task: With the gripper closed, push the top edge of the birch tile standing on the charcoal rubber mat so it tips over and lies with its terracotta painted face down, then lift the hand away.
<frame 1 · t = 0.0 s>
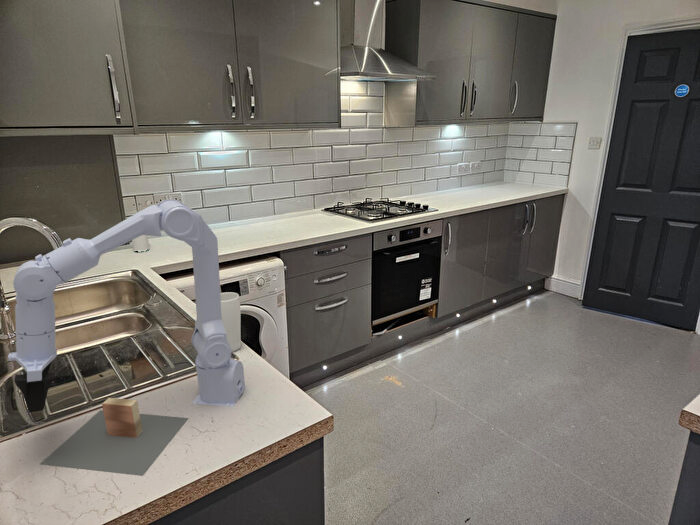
hand: (37, 399, 83), 11 cm above the countertop, tool pointing down, fingers open, 7 cm apart
can: (141, 251, 221), on the countertop
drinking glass: (231, 348, 123), on the countertop
mat: (119, 442, 87), on the countertop
tile: (125, 432, 89), point 1 cm above the countertop, touching mat
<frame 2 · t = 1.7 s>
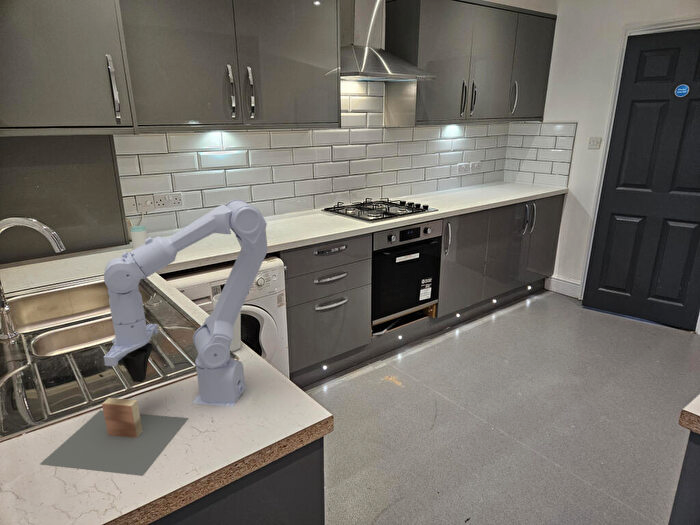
hand: (139, 380, 93), 8 cm above the countertop, tool pointing down, fingers closed
nothing on the countertop moved.
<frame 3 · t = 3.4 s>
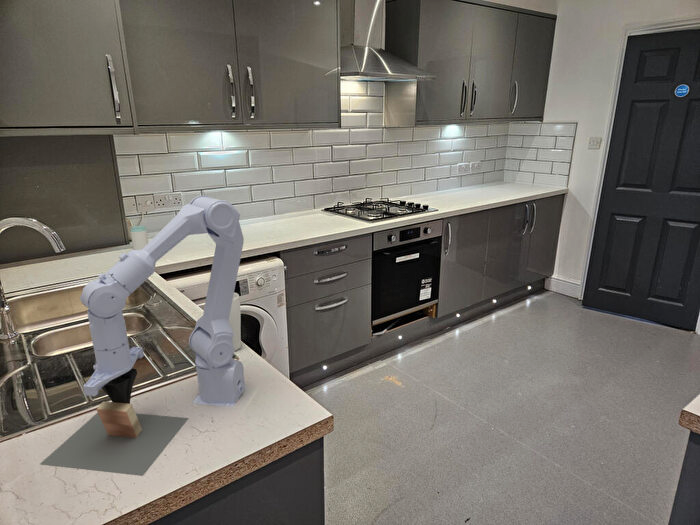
hand: (122, 407, 88), 6 cm above the countertop, tool pointing down, fingers closed
tile: (125, 431, 89), point 1 cm above the countertop, tilted 13°, touching gripper, mat
everything else where it was.
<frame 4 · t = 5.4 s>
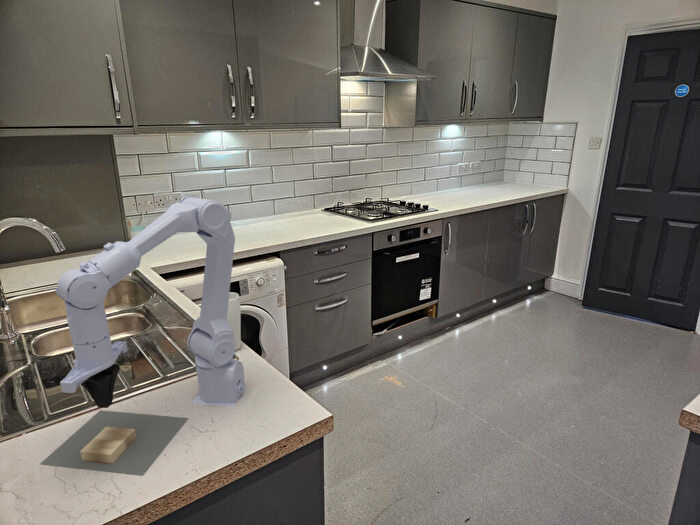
hand: (104, 405, 83), 9 cm above the countertop, tool pointing down, fingers closed
tile: (121, 431, 87), point 2 cm above the countertop, tilted 90°, touching mat
everything else where it was.
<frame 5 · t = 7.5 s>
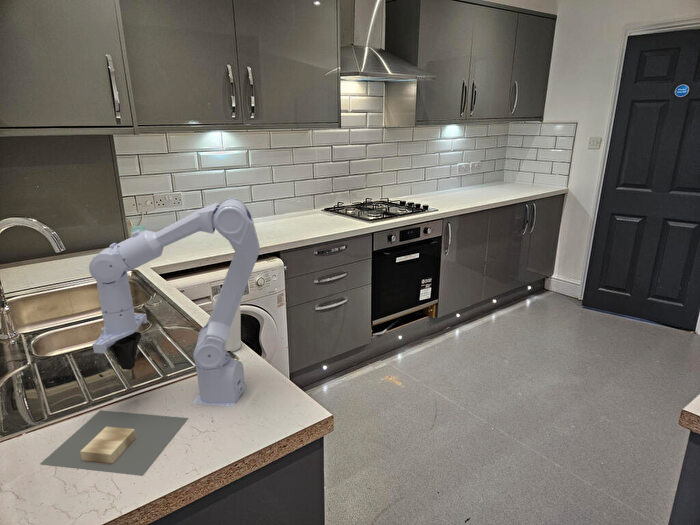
hand: (128, 367, 95), 9 cm above the countertop, tool pointing down, fingers closed
nothing on the countertop moved.
at the end: tile tilted 90°; tile inside the target area on the mat (1.3 cm from its centre), point 1.7 cm above the mat's base; tile touching mat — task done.
